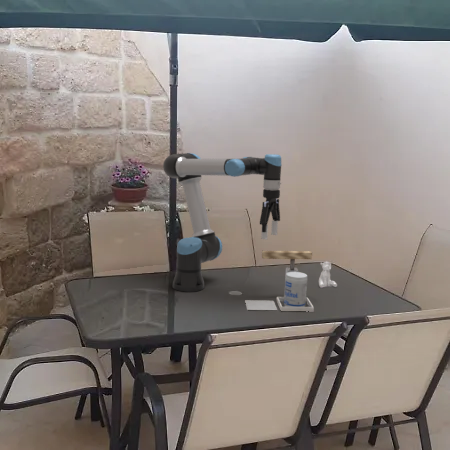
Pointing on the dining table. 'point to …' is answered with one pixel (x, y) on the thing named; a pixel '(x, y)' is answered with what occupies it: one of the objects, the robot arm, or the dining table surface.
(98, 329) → the dining table surface
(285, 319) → the dining table surface
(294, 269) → the post
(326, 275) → the white creature statuette
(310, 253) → the T-handle
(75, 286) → the dining table surface
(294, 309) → the holder tray
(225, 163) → the robot arm
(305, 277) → the supplement tub
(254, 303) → the rubber mat
